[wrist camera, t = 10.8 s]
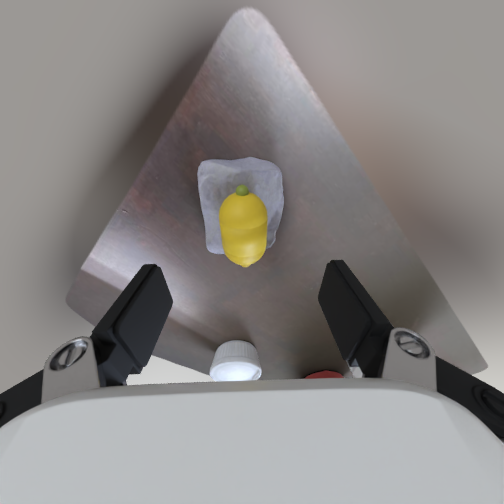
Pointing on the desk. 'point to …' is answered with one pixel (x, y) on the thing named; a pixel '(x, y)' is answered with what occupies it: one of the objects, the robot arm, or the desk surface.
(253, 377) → the ramekin
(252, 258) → the lemon
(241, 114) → the desk surface
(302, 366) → the desk surface
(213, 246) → the stone block
